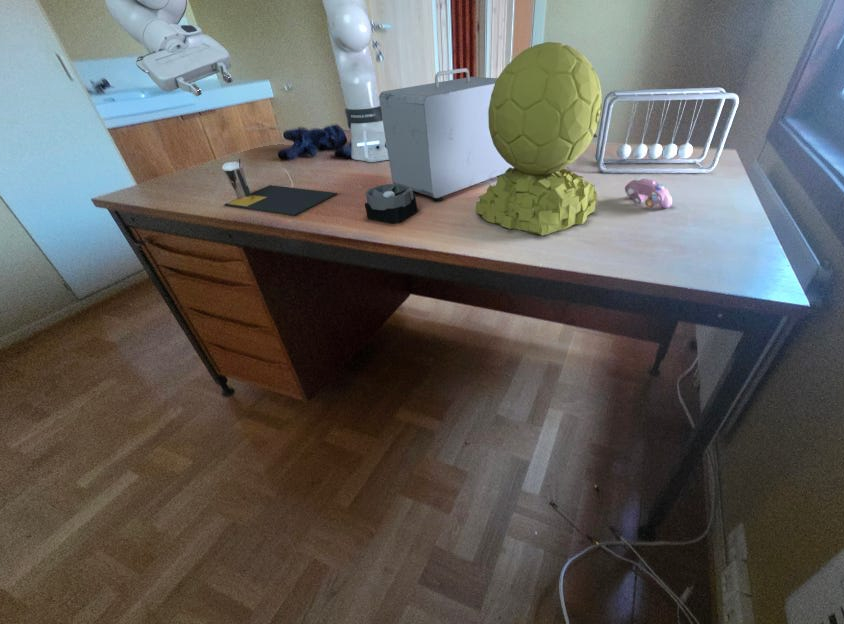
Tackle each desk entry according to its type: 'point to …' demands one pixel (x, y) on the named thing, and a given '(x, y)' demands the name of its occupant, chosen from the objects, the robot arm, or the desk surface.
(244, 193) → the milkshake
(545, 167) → the trophy
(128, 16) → the robot arm
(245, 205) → the desk mat
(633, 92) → the newton's cradle
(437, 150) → the vintage electronic device
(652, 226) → the desk surface
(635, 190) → the video game controller
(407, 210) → the cpu cooler
